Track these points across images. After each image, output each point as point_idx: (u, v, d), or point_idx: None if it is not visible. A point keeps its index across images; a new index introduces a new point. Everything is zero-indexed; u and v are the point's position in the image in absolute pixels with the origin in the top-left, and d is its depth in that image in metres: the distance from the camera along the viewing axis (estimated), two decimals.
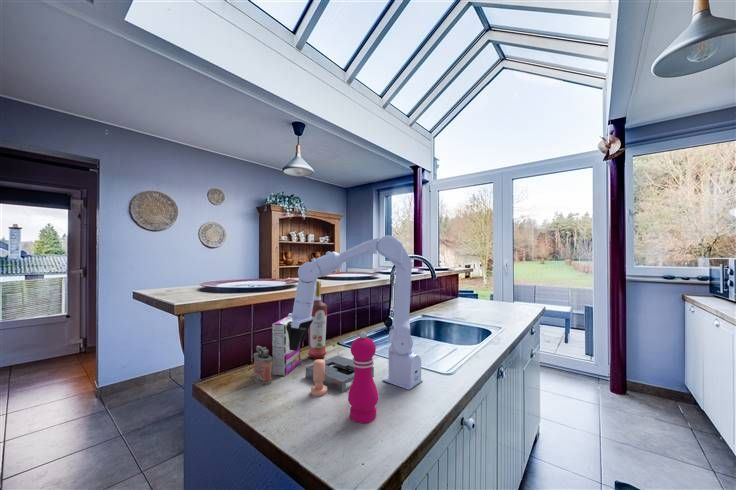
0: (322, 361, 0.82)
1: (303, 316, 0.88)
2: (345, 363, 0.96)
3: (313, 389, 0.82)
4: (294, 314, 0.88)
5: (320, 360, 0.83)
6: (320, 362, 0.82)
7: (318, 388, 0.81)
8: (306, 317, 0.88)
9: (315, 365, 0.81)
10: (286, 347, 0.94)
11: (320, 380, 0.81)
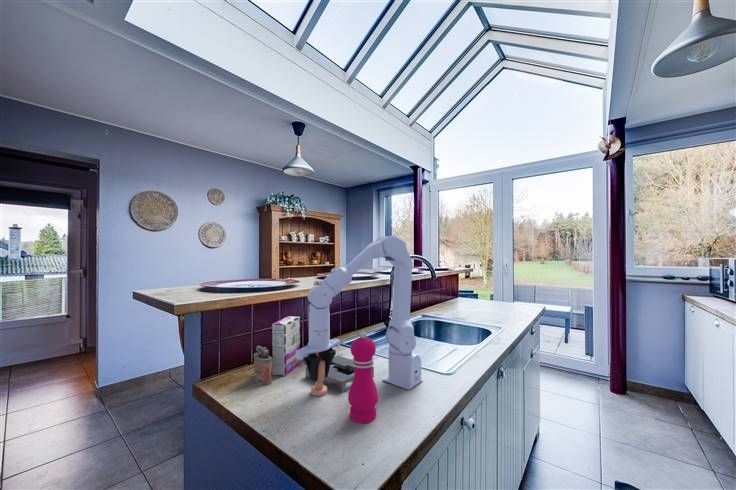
0: (322, 361, 0.82)
1: (314, 346, 0.80)
2: (345, 363, 0.96)
3: (313, 389, 0.82)
4: (309, 343, 0.82)
5: (320, 360, 0.83)
6: (320, 362, 0.82)
7: (318, 388, 0.81)
8: (317, 347, 0.80)
9: None
10: (286, 347, 0.94)
11: (320, 380, 0.81)
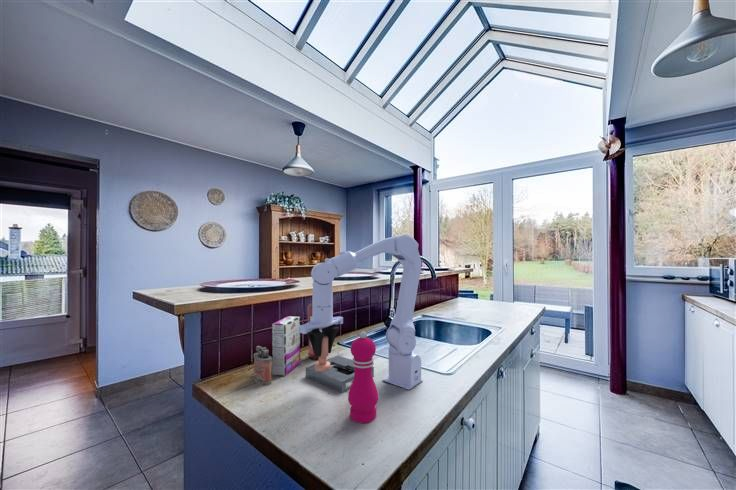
0: (325, 337, 0.83)
1: (317, 321, 0.81)
2: (345, 363, 0.96)
3: (316, 364, 0.83)
4: (312, 319, 0.83)
5: (323, 336, 0.84)
6: (323, 338, 0.83)
7: (321, 363, 0.82)
8: (321, 322, 0.81)
9: None
10: (286, 347, 0.94)
11: (323, 355, 0.82)
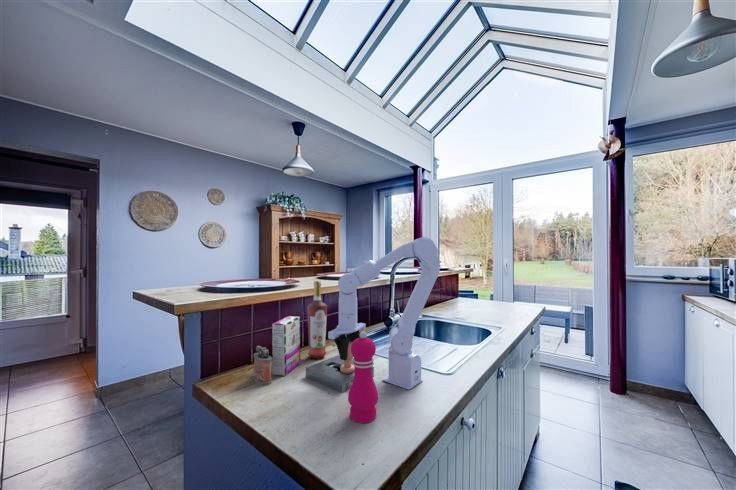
0: (350, 342, 0.91)
1: (344, 328, 0.88)
2: None
3: (342, 367, 0.90)
4: (338, 326, 0.90)
5: None
6: (349, 343, 0.90)
7: (347, 366, 0.90)
8: (347, 329, 0.88)
9: None
10: (286, 347, 0.94)
11: (349, 359, 0.89)
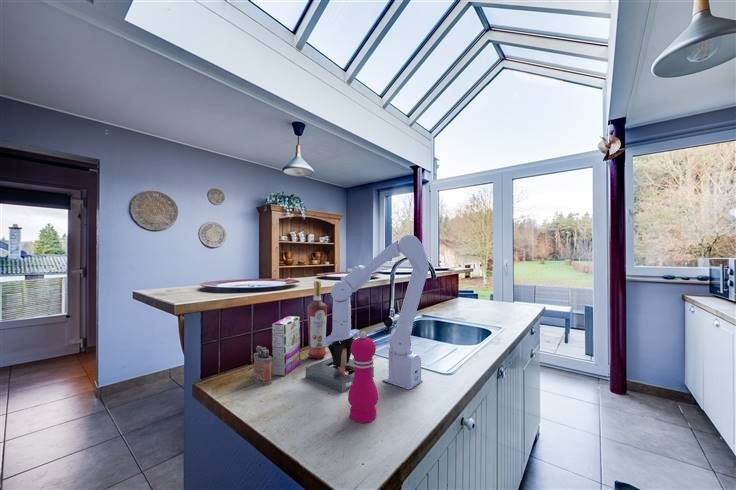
0: (344, 348, 0.92)
1: (337, 335, 0.90)
2: None
3: None
4: (332, 333, 0.92)
5: None
6: None
7: (341, 372, 0.91)
8: (341, 336, 0.90)
9: None
10: (286, 347, 0.94)
11: (342, 365, 0.91)
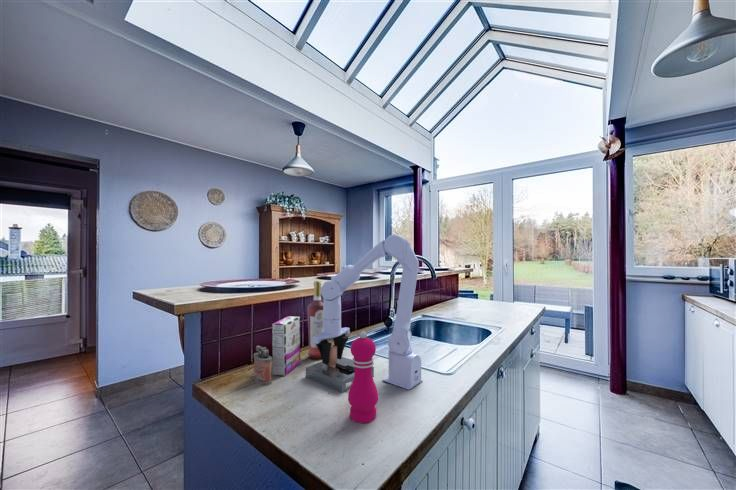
0: (334, 346, 0.95)
1: (328, 332, 0.93)
2: (345, 363, 0.96)
3: None
4: (323, 330, 0.95)
5: (333, 346, 0.96)
6: (333, 347, 0.94)
7: None
8: (331, 333, 0.92)
9: None
10: (286, 347, 0.94)
11: (333, 363, 0.94)
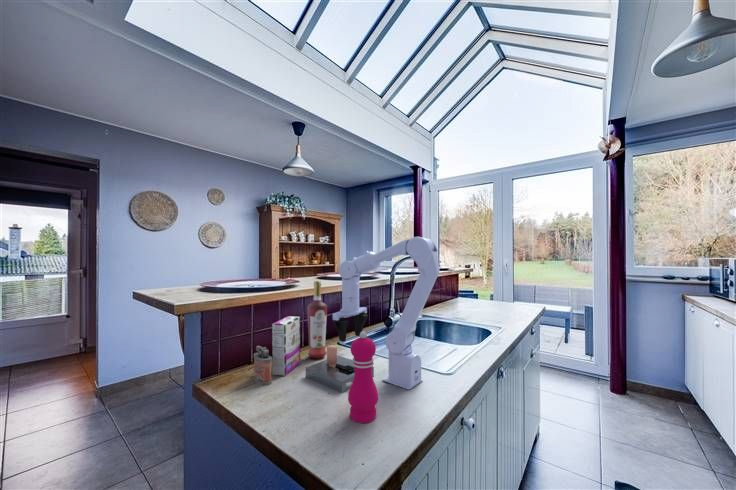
0: (334, 346, 0.95)
1: (347, 310, 0.96)
2: (345, 363, 0.96)
3: None
4: (342, 309, 0.98)
5: (333, 346, 0.96)
6: (333, 347, 0.94)
7: None
8: (350, 311, 0.96)
9: (328, 350, 0.94)
10: (286, 347, 0.94)
11: (333, 363, 0.94)
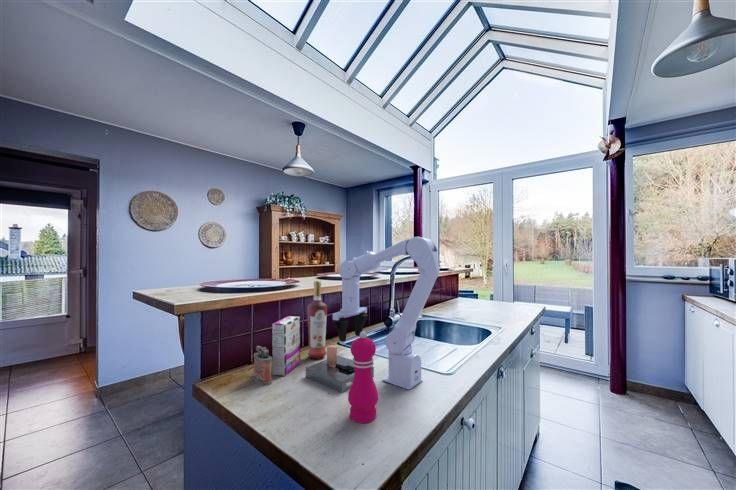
0: (334, 346, 0.95)
1: (347, 310, 0.96)
2: (345, 363, 0.96)
3: None
4: (342, 309, 0.98)
5: (333, 346, 0.96)
6: (333, 347, 0.94)
7: None
8: (350, 311, 0.96)
9: (328, 350, 0.94)
10: (286, 347, 0.94)
11: (333, 363, 0.94)
